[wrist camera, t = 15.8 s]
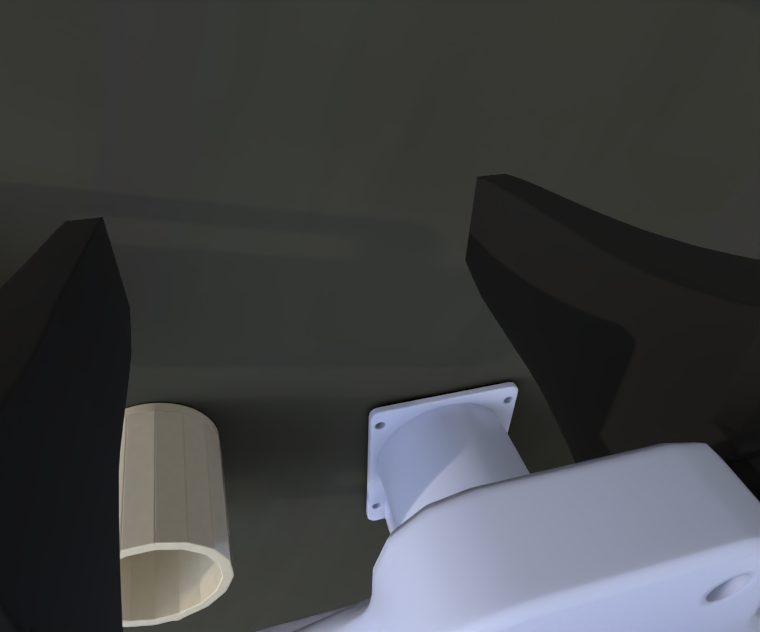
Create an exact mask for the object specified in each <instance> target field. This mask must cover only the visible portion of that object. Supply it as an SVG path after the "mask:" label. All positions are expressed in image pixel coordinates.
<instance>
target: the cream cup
mask: <svg viewBox="0 0 760 632" xmlns="http://www.w3.org/2000/svg"><path fill="white" fill-rule="evenodd" d="M119 536H120V576H121V601H122V625H123V627H133V626H147V625H157V624H160V623H164V622H168V621H172V620H173V621H178V620H181V619H182V618H184V617H186V616H188V615H190V614H192V613H195V612H197V611H199V610H201V609H203V608H205V607H207V606H208V605H210V604H211V603H213V602H214V601H215V600H216V599H217V598H219V597H220V596H221V595H222V594H224V593H225V592H226V591H227V589H228V587H229V585H230V583H231V580H232V578H233V576H234V569H233V559H232V549H231V539H230V529H229V520H228V510H227V500H226V490H225V480H224V470H223V460H222V450H221V445H220V438H219V433H218V430H217V428H216V426H215V425H214V423H213V422H212V421H211V420H210V419H209V418H208V417H207V416H206V415H204V414H202V413H201V412H199V411H197V410H195V409H193V408H190V407H187V406H183V405H179V404H172V403H148V404H141V405H136V406H132V407H129V408H126V409H125V415H124V423H123V432H122V440H121V449H120V463H119Z"/></svg>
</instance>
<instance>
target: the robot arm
mask: <svg viewBox="0 0 760 632" xmlns="http://www.w3.org/2000/svg"><path fill="white" fill-rule="evenodd" d="M466 263H467V265H468V267H469V270H470V272H471V275H472V277H473V279H474V282H475V284H476V286H477V288H478V290H479V292H480V294H481V296H482V298H483V300H484V301H485V303H486V305H487V306H488V308H489V309H490V311H491V312H492V314H493V316H494V317H495V319H496V320H497V322H498V323H499V325H500V326H501V328H502V329H503V331H504V333H505V334H506V336H507V337H508V339H509V340H510V342H511V343H512V345H513V346H514V348H515V349H516V351H517V352H518V354H519V355H520V357H521V358H522V360H523V361H524V363H525V364H526V366H527V367H528V369H529V370H530V372H531V374H532V375H533V377H534V379H535V380H536V382H537V384H538V386H539V387H540V389H541V391H542V393H543V395H544V397H545V399H546V401H547V403H548V405H549V407H550V409H551V411H552V413H553V415H554V417H555V419H556V421H557V423H558V425H559V427H560V429H561V432H562V434H563V436H564V438H565V440H566V442H567V445H568V447H569V449H570V451H571V453H572V456H573V458H574V460H575V462H576V463H575V464H570V465H566V466H562V467H558V468H553V469H549V470H545V471H540V472H536V473H532V474H530V473H529V471H528V469H527V468H526V466H525V464H524V462H523V461H522V459H521V457H520V455H519V453H518V452H517V450H516V448H515V446H514V444H513V443H512V441H511V439H510V437H509V436H508V430H509V426H510V422H511V418H512V414H513V410H514V406H515V402H516V398H517V394H518V388H517V386H516V385H515V383H513V382H507V383H501V384H496V385H491V386H486V387H481V388H476V389H470V390H465V391H460V392H455V393H450V394H445V395H439V396H434V397H429V398H424V399H419V400H414V401H408V402H403V403H398V404H393V405H388V406H383V407H378V408H375V409H373V410H372V411H371V412H370V414H369V428H368V469H367V509H366V513H367V516H368V519H370V520H379V519H383V518H386V521H387V525H388V528H389V531H390V536H389V538H388V539H387V541H386V543H385V545H384V547H383V549H382V551H381V553H380V555H379V557H378V559H377V561H376V564H375V566H374V568H373V580H372V597H370V598H367V599H365V600H363V601H360V602H358V603H356V604H354V605H351V606H347V607H343V608H339V609H336V610H332V611H328V612H324V613H321V614H317V615H313V616H309V617H306V618H302V619H298V620H295V621H291V622H287V623H283V624H280V625H276V626H272V627H268V628H265V629H261V630H257V631H253V632H760V260H757V259H752V258H747V257H742V256H737V255H733V254H728V253H724V252H719V251H715V250H710V249H706V248H702V247H698V246H695V245H691V244H687V243H684V242H680V241H677V240H674V239H671V238H667V237H664V236H661V235H657V234H654V233H651V232H648V231H645V230H642V229H640V228H637V227H634V226H631V225H629V224H626V223H624V222H621V221H618V220H616V219H613V218H611V217H608V216H606V215H603V214H601V213H598V212H596V211H594V210H591V209H589V208H587V207H584V206H582V205H580V204H578V203H575V202H573V201H571V200H568V199H566V198H564V197H562V196H560V195H557V194H555V193H553V192H551V191H548V190H546V189H544V188H542V187H539V186H537V185H535V184H532V183H530V182H527V181H525V180H522V179H520V178H517V177H514V176H511V175H507V174H499V175H489V176H480V177H477V182H476V189H475V196H474V203H473V210H472V217H471V224H470V231H469V238H468V245H467V252H466ZM130 361H131V323H130V306H129V303H128V300H127V297H126V293H125V290H124V287H123V283H122V280H121V277H120V273H119V270H118V267H117V263H116V260H115V257H114V253H113V250H112V247H111V243H110V240H109V237H108V233H107V230H106V227H105V223H104V220H103V217H100V218H91V219H82V220H72V221H66V222H64V223H63V224H62V225H61V226H60V227H59V228H58V229H57V230H56V231H55V232H54V233H53V234H52V236H51V237H50V238H49V239H48V240H47V241H46V242H45V243H44V244H43V245H42V246H41V247H40V248H39V249H38V251H37V252H36V253H35V254H34V255H33V256H32V257H31V258H30V259H29V260H28V261H27V262H26V263H25V264H24V265H23V266H22V267H21V268H20V269H19V270H18V271H17V272H16V273H15V274H14V275H13V277H12V278H11V279H10V280H9V281H7V282H6V283H5V284H4V285H3V286H2V287H1V288H0V632H123V625H122V601H121V576H120V536H119V463H120V449H121V440H122V432H123V423H124V415H125V406H126V397H127V389H128V380H129V371H130Z"/></svg>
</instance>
